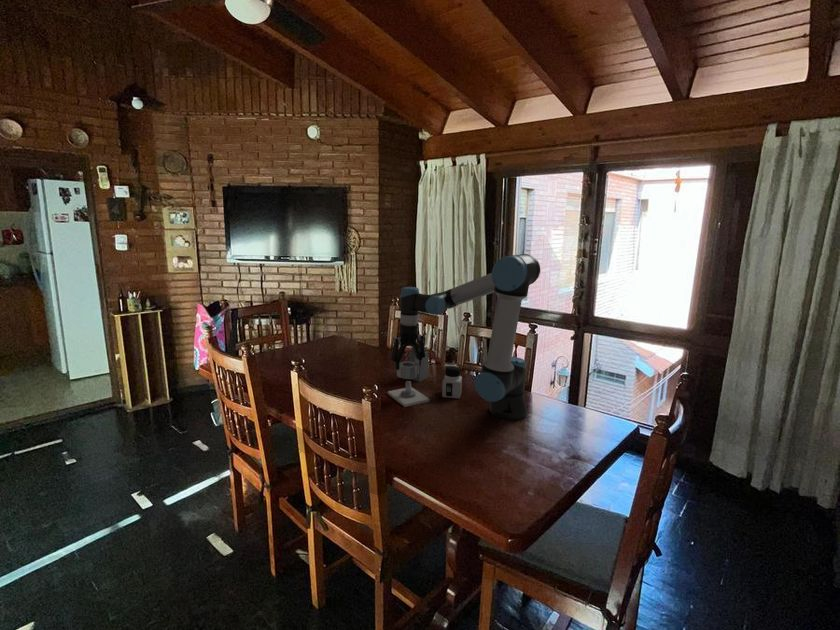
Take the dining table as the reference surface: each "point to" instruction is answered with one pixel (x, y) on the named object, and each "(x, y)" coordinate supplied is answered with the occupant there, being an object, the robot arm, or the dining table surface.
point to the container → (452, 382)
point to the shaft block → (408, 396)
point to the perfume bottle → (424, 364)
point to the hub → (408, 370)
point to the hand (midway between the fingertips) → (408, 374)
